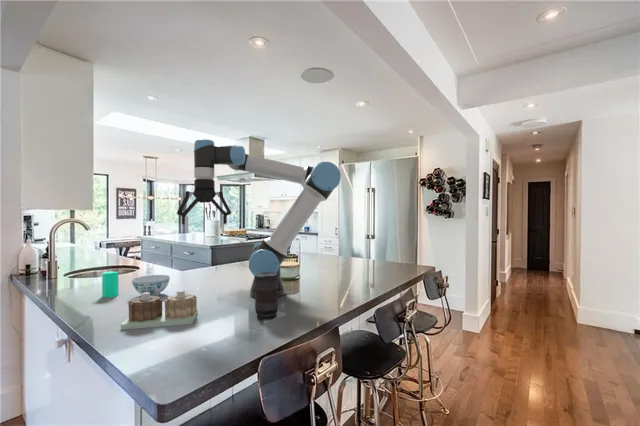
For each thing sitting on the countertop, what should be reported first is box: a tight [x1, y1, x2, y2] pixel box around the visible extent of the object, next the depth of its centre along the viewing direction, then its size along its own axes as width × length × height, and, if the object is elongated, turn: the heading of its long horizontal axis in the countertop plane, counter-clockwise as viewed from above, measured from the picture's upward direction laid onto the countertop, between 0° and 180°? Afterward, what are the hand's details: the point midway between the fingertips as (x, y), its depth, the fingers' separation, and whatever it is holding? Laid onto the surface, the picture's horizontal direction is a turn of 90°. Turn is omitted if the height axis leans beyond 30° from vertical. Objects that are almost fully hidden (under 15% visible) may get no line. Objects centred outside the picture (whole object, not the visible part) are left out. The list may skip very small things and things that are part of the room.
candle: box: [101, 268, 119, 299], centre depth 140 cm, size 6×6×12 cm
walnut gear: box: [128, 296, 163, 322], centre depth 106 cm, size 10×10×6 cm
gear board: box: [120, 290, 199, 330], centre depth 107 cm, size 21×12×10 cm, turn 103°
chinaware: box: [131, 274, 171, 297], centre depth 141 cm, size 15×15×8 cm
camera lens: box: [253, 272, 279, 321], centre depth 111 cm, size 8×8×15 cm
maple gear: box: [164, 293, 198, 319], centre depth 109 cm, size 10×10×6 cm
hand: (204, 232), depth 126 cm, fingers open, 13 cm apart
